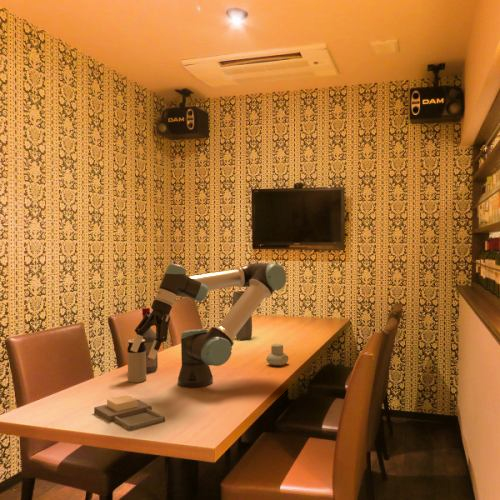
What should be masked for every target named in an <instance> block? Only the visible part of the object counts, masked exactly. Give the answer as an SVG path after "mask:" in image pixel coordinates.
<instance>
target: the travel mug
mask: <svg viewBox="0 0 500 500" xmlns="http://www.w3.org/2000/svg"><path fill="white" fill-rule="evenodd" d="M134 340H135V338H133V339H128V340H127V343H128V346H127V349H126V350H127V382H130V383H142V382H145V381H147V373H146V347H145V345H144V342H145V340H144V339H142V341H141V344H140V346H139V349H138V351H137V352H134V351H131V350H130V349H131V347H132V345H133V342H134Z"/></svg>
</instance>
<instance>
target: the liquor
mask: <svg viewBox="0 0 500 500" xmlns="http://www.w3.org/2000/svg"><path fill="white" fill-rule="evenodd" d="M147 311H150V312H151V307H143V308H142V309H141V312H142V313H141V314H142V315H141V316H142V319H143V318H144V316H145V315H146V313H147ZM143 339H144V340H145V342H144V345H145V347H146V374H147V373H149V374H151V373H155V372H156V371H157V369H158V368H159V366H158V364H159V363H158V354H157V355H156V357H155V359H152V358H149V357H148V355H149V353H150V350H151V348H152V345H153V343H154V340H155V339H156V331H154V330H153V328H151V327H150V328H149V329H148V330H147V331H146V332H145V333H144V336H143Z"/></svg>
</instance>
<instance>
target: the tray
mask: <svg viewBox="0 0 500 500" xmlns="http://www.w3.org/2000/svg"><path fill="white" fill-rule="evenodd" d="M113 422H115V423H117V425H120V426H122V427H123V428H125V429H127V430H128V431H129V432H130V431H134V430H138V429H142V428H145V427H149V426H152V425H156V424H157V425H158V424H160V423H164V422H166V416H165V415H162V414H161V413H158V412H157V411H154V410H153V409H152V410H150V409H146V412H144V413H140V414H136V415H132V416H128V417H124V418H118V417H117V416H115V417H114V421H113Z"/></svg>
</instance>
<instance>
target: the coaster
mask: <svg viewBox="0 0 500 500" xmlns="http://www.w3.org/2000/svg"><path fill="white" fill-rule="evenodd" d="M138 400H139V399H138ZM138 400H137V398H136V399H135V397H133V396H131V395H129V394H125V395H120V396H115V397H111V398H107V399H106V405H107V406H108V407H110V408H111V409H113V410H115V411H121V410H125V409H129V408H133V407H138Z"/></svg>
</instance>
